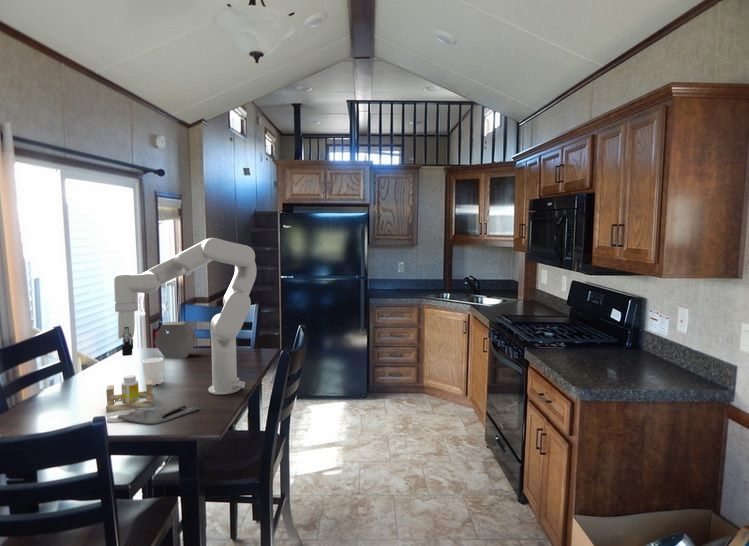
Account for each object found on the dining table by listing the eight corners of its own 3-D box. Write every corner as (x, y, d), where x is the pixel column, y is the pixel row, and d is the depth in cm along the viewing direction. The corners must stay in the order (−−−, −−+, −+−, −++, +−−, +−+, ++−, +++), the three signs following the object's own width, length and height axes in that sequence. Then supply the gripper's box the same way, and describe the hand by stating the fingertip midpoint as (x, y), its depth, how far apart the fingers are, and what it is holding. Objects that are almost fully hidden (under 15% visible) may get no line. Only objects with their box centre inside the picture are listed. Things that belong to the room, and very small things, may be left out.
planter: (203, 344, 245) (180, 313, 242) (199, 348, 237) (175, 315, 234) (176, 362, 244) (152, 331, 241) (171, 366, 236) (147, 334, 233)
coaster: (142, 412, 164) (142, 411, 164) (120, 423, 154) (120, 422, 154) (118, 410, 166) (118, 408, 166) (95, 420, 157) (95, 419, 156)
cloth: (109, 426, 151) (109, 419, 151) (124, 409, 165) (124, 403, 164) (192, 423, 156) (192, 416, 155) (200, 407, 169) (200, 401, 169)
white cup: (155, 386, 192) (154, 363, 191) (139, 385, 193) (138, 362, 193) (167, 380, 199) (167, 358, 199) (151, 379, 201) (150, 357, 200)
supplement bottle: (141, 400, 176) (140, 374, 175) (135, 405, 171) (134, 378, 170) (126, 400, 176) (125, 374, 175) (119, 406, 170) (118, 378, 169)
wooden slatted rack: (152, 394, 182) (152, 377, 182) (153, 405, 171) (152, 387, 170) (109, 400, 176) (108, 382, 175) (106, 412, 164) (105, 393, 164)
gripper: (116, 304, 176) (117, 348, 178) (113, 310, 161) (114, 359, 162) (138, 303, 180) (139, 346, 181) (137, 309, 164) (138, 356, 165)
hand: (127, 352), depth 171 cm, fingers open, 9 cm apart
